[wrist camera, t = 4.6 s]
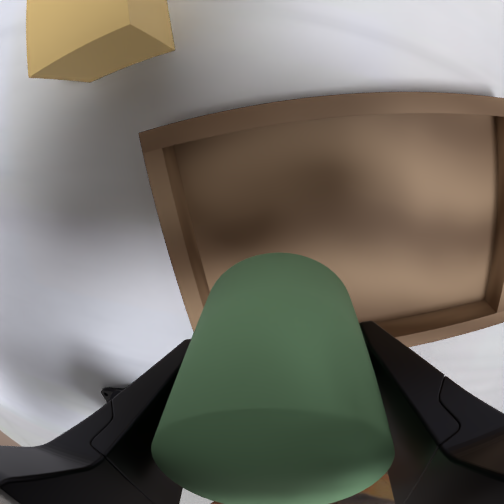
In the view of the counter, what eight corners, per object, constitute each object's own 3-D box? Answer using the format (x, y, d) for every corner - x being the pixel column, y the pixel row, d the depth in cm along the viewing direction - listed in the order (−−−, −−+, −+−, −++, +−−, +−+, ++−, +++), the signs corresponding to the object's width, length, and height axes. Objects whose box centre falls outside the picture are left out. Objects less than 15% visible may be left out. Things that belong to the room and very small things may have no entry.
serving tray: (487, 303, 17) (503, 322, 15) (214, 344, 20) (207, 370, 18) (497, 100, 12) (522, 101, 10) (158, 130, 15) (138, 132, 13)
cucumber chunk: (352, 364, 10) (377, 499, 5) (224, 376, 11) (194, 506, 6) (349, 242, 9) (416, 384, 4) (189, 263, 9) (108, 401, 4)
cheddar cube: (175, 50, 13) (130, 24, 8) (90, 82, 14) (28, 77, 9) (163, -26, 11) (122, -67, 6) (83, 9, 12) (27, -11, 7)
